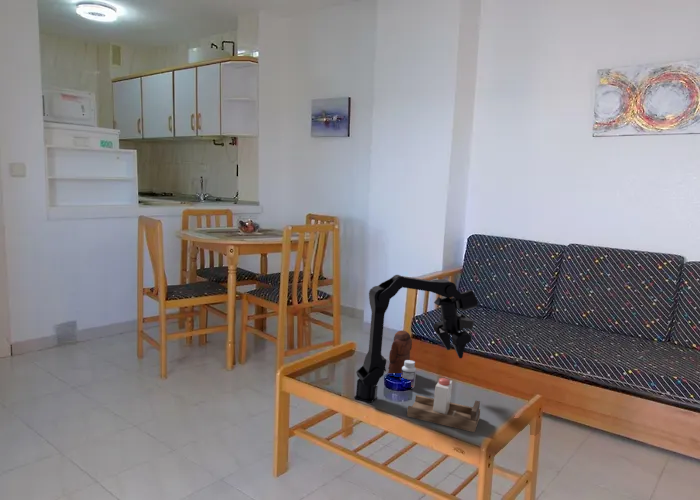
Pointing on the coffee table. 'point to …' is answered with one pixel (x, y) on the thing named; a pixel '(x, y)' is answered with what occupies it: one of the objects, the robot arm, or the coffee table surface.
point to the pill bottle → (409, 371)
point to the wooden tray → (454, 418)
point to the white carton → (442, 396)
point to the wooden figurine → (399, 351)
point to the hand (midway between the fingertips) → (454, 353)
